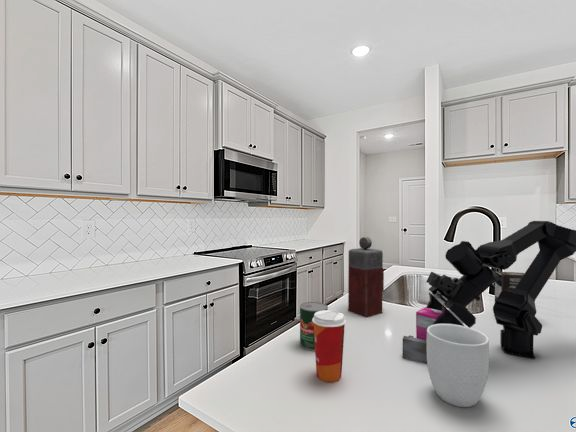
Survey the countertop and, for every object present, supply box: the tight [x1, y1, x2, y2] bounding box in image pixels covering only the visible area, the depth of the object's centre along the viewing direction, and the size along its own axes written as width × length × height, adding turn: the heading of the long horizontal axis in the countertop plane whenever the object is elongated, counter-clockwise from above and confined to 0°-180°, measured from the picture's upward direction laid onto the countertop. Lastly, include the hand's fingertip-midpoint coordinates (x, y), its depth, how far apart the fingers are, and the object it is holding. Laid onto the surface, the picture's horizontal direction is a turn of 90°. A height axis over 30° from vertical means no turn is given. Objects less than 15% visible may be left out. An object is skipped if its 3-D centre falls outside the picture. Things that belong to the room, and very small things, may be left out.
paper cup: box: [312, 309, 347, 383], centre depth 69 cm, size 8×8×14 cm
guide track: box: [401, 335, 427, 364], centre depth 79 cm, size 12×10×5 cm
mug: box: [426, 324, 490, 408], centre depth 63 cm, size 15×11×13 cm
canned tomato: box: [299, 301, 329, 352], centre depth 85 cm, size 8×8×11 cm
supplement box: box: [415, 306, 442, 340], centre depth 80 cm, size 6×6×12 cm
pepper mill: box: [347, 236, 385, 319], centre depth 114 cm, size 9×11×28 cm
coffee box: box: [494, 271, 525, 301], centre depth 106 cm, size 9×6×16 cm
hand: (425, 325), depth 80 cm, fingers open, 8 cm apart
